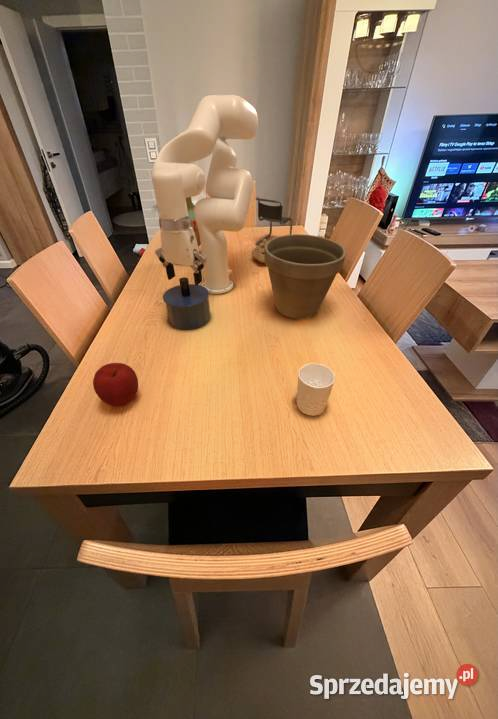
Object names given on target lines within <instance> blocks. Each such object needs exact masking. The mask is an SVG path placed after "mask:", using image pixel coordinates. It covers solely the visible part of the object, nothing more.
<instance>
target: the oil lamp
mask: <svg viewBox="0 0 498 719" xmlns="http://www.w3.org/2000/svg"><path fill="white" fill-rule="evenodd" d="M262 239H263V238H262ZM267 242H268V239H263V241H262V242H261V243H259V244H260V245H257V246H256V247H254V248H253V249H252V250H251V256H252V257H253V258H254V259H255V260H256V261H257V262H259V263H261V264H265V251H264V249H265V244H266V243H267Z"/></svg>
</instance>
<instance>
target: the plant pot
mask: <svg viewBox="0 0 498 719" xmlns="http://www.w3.org/2000/svg"><path fill="white" fill-rule="evenodd" d="M264 251H265V263H264V264H265V266H266V268H267V270H268V275H269V280H270V285H271V289H272V295H273V298H274V303H275V307H276V310H277V312H278V313H279V314H281V315H282V316H284V317H287V318H290V319H294V320H295V319H297V320H302V319H309V318H311V317H313V316H315V315H316V314H317V313H318V312H319V310H320V308H321V306H322V304H323V302H324V300H325V298H326V297H327V294H328V292H329V291H330V289H331V287H332V284H333V282H334V280H335V279H336V276H337V275H338V274H339V273H340V272H341V271H342V270H343V266H344V262H345V260H346V255H347V250H346V249H345V247H344V246H343V245H342V244H340V243H339V242H337V241H335V240H332V239H330V238H327V237H323V236H317V235H314V234H312V235H311V234H303V233H302V234H299V233H297V234H291V235H289V234H284V235H279V236H276V237H273V238H271V239H269V240H267V243H266V244H265V249H264Z"/></svg>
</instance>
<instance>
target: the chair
mask: <svg viewBox="0 0 498 719" xmlns="http://www.w3.org/2000/svg"><path fill="white" fill-rule="evenodd" d="M255 200H256V201H257V218H258V221H260V222H262V221H268V222H269V233H268V234H267V235H266V236H264V237H263V238H261V239H259V240H258V241H257V242H256V245H257V246H258V245H260V244H261V243H262V241H263V239H266V240H268V238H270V237H271V236H272V232H273V223H279V224H280V225H282V226H283V225H284V224H286V223H288V222H290V223H289V234H288V235H293V234H292V232H293V217H291V216H290V217H286V216H285V217H283V209H284V207H283V206H284V205H283V200H281V199H271V198H263V197H259V196H256V197H255ZM262 202H266V203H267V202H268V203H275V204H279V205H269V204H265V203H262Z"/></svg>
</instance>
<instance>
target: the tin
mask: <svg viewBox="0 0 498 719" xmlns="http://www.w3.org/2000/svg"><path fill="white" fill-rule="evenodd" d="M209 298H210V297H209ZM209 298H208V299H207V300H206V301H205V302H204V303H202V304H200V305H197V306H194V307H189V308H176V307H172V306H169V305H167V304H166V303H165V307H166V312H167V317H168V321H169V324H170V326H172V327H173V328H175V329H178V330H181V331H192V330H197V329H200V328H203V327H204V326H206V325H207V324H208V323H209V322H210V319H211V309H210V308H211V307H210V299H209Z"/></svg>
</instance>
